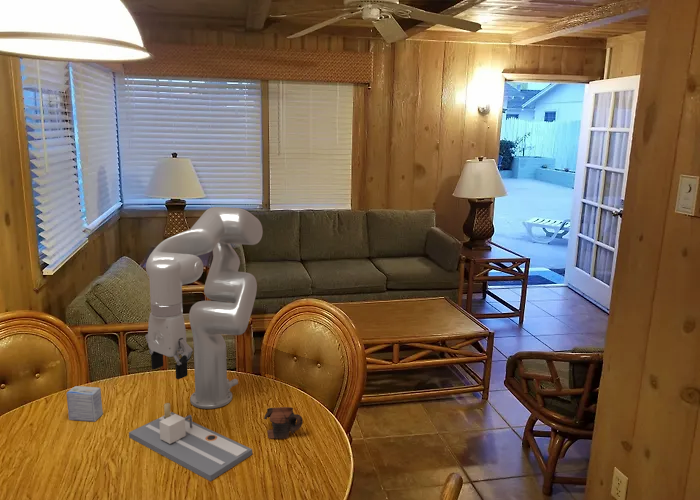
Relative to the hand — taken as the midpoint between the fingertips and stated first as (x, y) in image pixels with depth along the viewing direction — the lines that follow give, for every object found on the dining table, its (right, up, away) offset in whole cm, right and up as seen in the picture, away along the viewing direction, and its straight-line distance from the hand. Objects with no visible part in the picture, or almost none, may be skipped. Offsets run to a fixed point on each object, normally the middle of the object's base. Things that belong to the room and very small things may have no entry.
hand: (169, 372), depth 143 cm
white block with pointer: (+1, -18, +5) cm, 19 cm away
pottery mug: (+28, -19, +12) cm, 36 cm away
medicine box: (-29, -17, +16) cm, 38 cm away
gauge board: (+4, -20, +4) cm, 21 cm away
